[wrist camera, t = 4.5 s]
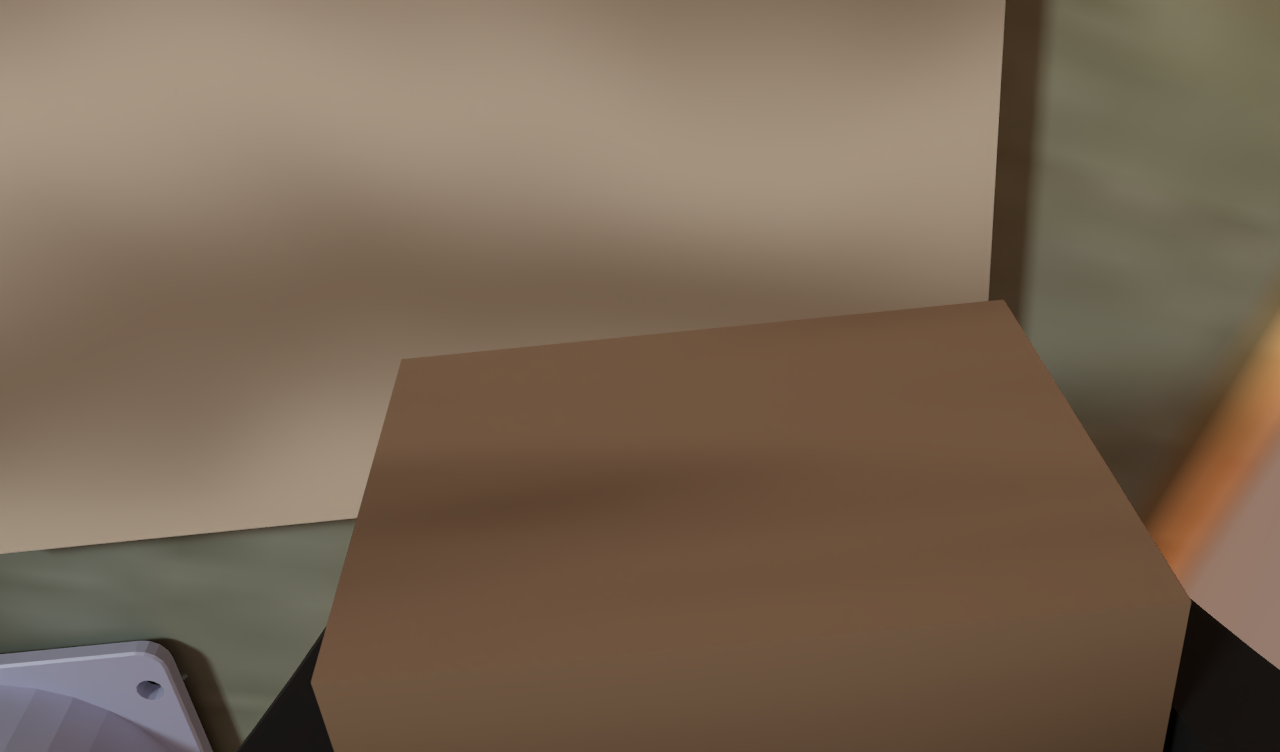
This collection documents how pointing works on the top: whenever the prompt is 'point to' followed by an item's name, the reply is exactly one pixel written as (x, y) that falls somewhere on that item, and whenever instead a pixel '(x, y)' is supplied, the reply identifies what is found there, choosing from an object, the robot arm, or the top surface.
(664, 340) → the walnut block
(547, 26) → the beige flat square
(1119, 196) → the top surface
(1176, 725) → the robot arm
